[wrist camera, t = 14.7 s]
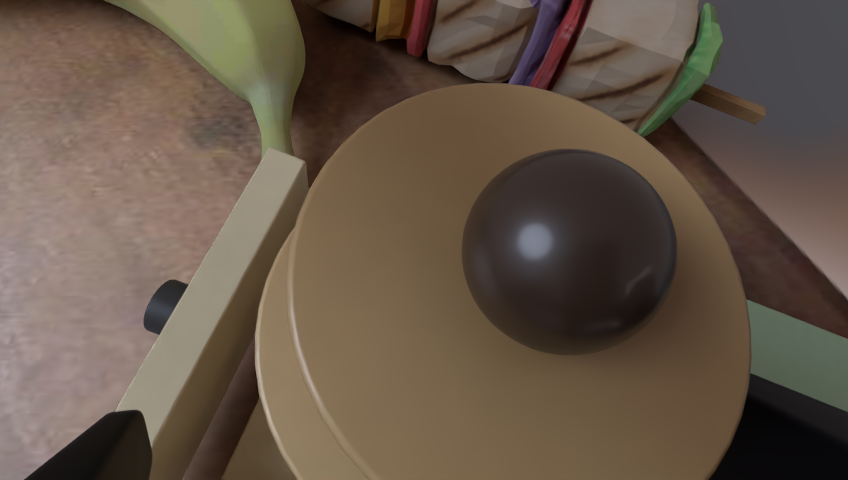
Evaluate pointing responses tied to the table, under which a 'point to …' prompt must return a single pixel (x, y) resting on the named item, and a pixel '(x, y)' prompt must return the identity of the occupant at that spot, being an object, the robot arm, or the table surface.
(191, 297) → the drawer
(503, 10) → the skewer
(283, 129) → the banana
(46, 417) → the table surface
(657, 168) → the pepper mill
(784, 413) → the robot arm
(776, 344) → the cabinet
